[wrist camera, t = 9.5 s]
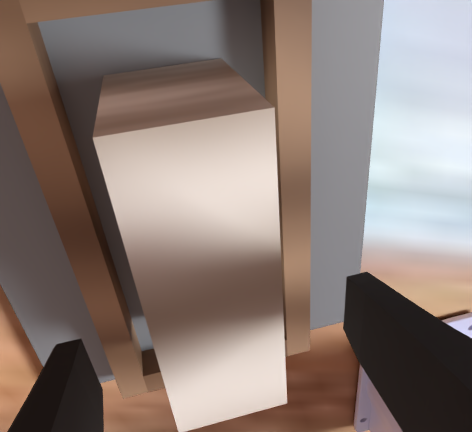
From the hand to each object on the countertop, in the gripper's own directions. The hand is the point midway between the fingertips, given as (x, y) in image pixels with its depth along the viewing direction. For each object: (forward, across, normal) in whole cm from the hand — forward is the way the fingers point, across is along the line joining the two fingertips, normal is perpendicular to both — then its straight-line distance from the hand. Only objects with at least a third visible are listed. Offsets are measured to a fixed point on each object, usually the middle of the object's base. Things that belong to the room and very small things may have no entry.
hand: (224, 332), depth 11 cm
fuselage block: (+7, 0, 0) cm, 7 cm away
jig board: (+8, 0, 0) cm, 8 cm away
